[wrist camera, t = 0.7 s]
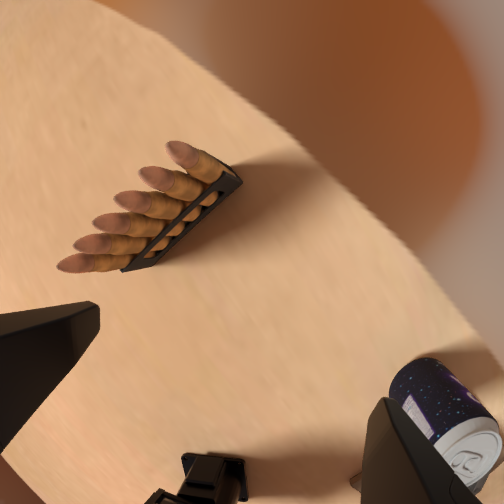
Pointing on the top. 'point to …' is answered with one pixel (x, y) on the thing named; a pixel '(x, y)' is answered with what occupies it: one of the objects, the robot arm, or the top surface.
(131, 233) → the ammunition clip
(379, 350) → the top surface
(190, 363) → the top surface
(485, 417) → the beverage can
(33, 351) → the robot arm
